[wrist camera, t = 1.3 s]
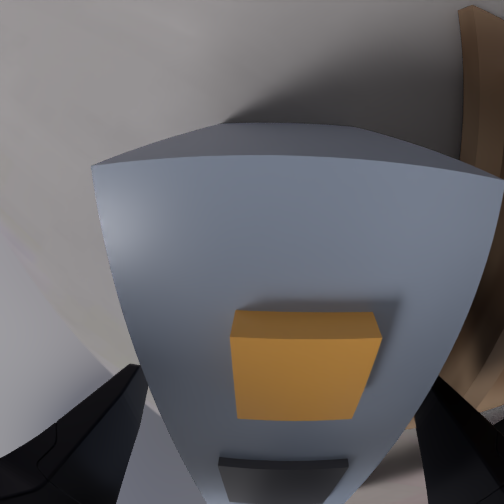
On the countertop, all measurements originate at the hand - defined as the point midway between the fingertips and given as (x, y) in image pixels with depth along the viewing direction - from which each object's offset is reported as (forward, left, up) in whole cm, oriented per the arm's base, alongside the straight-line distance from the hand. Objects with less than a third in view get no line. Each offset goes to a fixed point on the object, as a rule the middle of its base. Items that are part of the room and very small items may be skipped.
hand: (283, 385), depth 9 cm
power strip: (0, 0, -4) cm, 4 cm away
